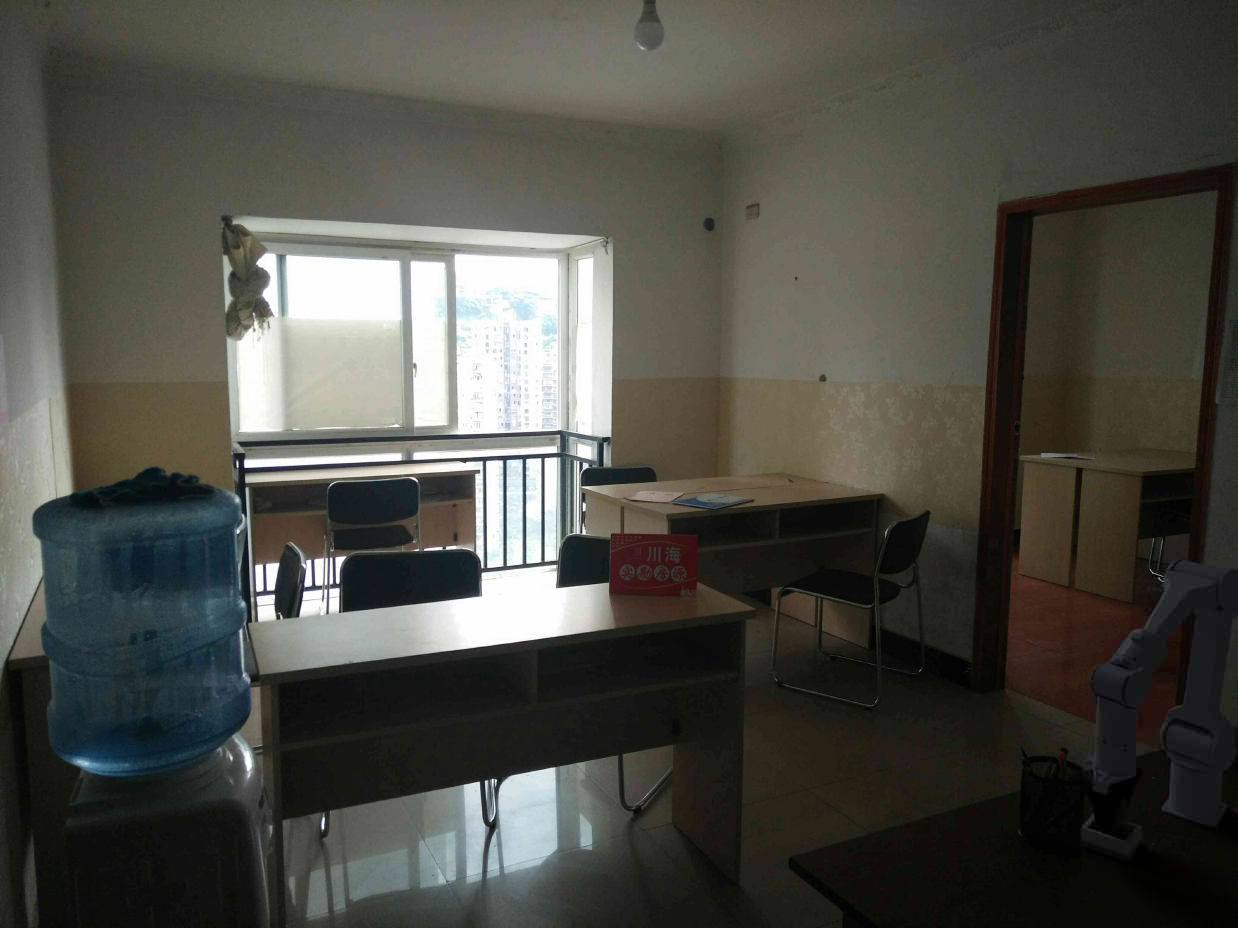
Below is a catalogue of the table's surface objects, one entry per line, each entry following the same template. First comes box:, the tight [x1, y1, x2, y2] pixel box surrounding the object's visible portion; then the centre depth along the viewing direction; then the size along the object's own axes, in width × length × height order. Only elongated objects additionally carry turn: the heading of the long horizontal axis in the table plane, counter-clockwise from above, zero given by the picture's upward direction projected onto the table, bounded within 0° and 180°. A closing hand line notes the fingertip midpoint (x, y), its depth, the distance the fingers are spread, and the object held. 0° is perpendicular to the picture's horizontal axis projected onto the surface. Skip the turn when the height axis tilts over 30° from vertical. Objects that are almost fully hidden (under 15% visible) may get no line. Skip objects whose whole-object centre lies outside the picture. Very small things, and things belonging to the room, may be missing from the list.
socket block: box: [1080, 812, 1143, 863], centre depth 140 cm, size 7×7×3 cm
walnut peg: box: [1097, 797, 1128, 840], centre depth 140 cm, size 4×4×7 cm
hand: (1111, 818), depth 140 cm, fingers open, 7 cm apart
